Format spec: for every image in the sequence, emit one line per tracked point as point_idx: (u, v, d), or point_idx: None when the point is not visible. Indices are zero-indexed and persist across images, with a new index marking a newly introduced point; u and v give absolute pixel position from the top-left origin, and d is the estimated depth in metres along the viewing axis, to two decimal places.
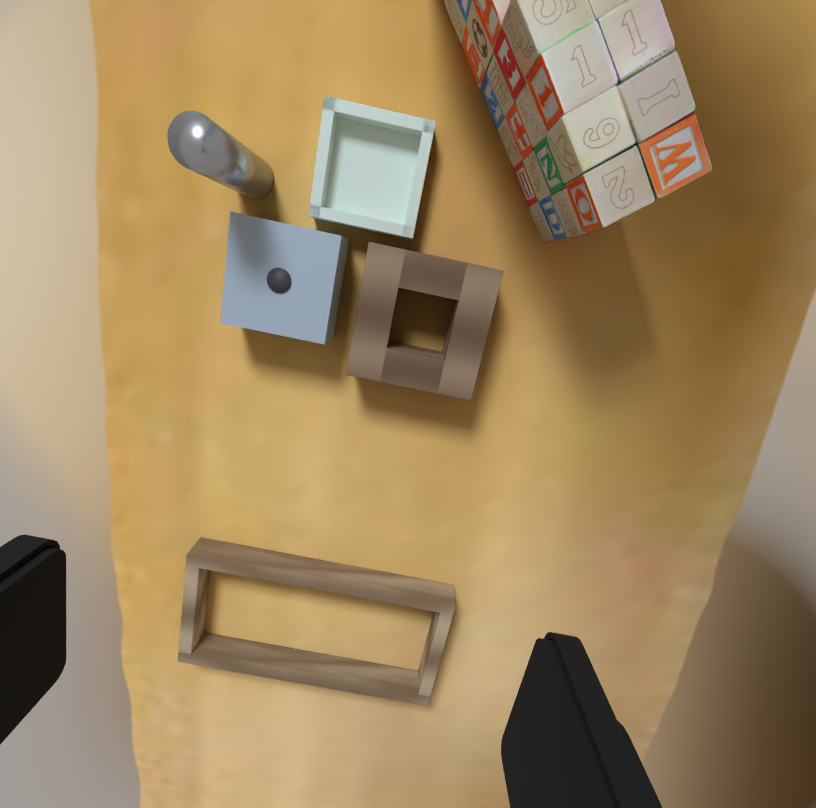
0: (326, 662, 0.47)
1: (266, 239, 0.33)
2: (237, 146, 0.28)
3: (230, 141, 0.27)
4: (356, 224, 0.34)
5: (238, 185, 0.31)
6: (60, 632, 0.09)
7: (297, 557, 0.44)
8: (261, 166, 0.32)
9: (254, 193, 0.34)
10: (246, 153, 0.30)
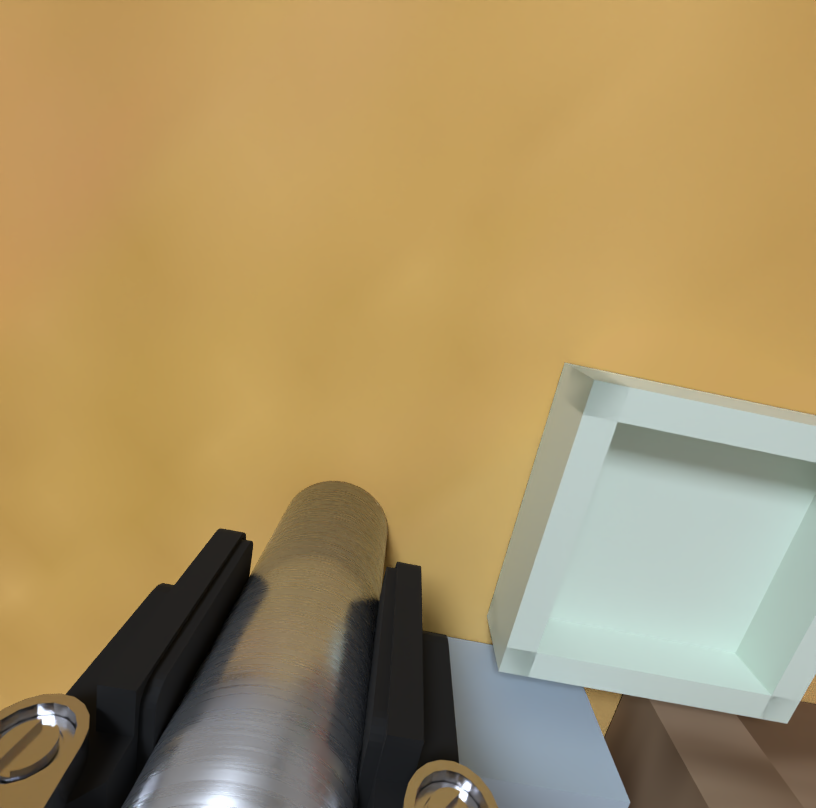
0: None
1: None
2: (350, 793, 0.06)
3: None
4: (633, 692, 0.12)
5: None
6: None
7: None
8: (379, 587, 0.10)
9: None
10: (363, 692, 0.07)
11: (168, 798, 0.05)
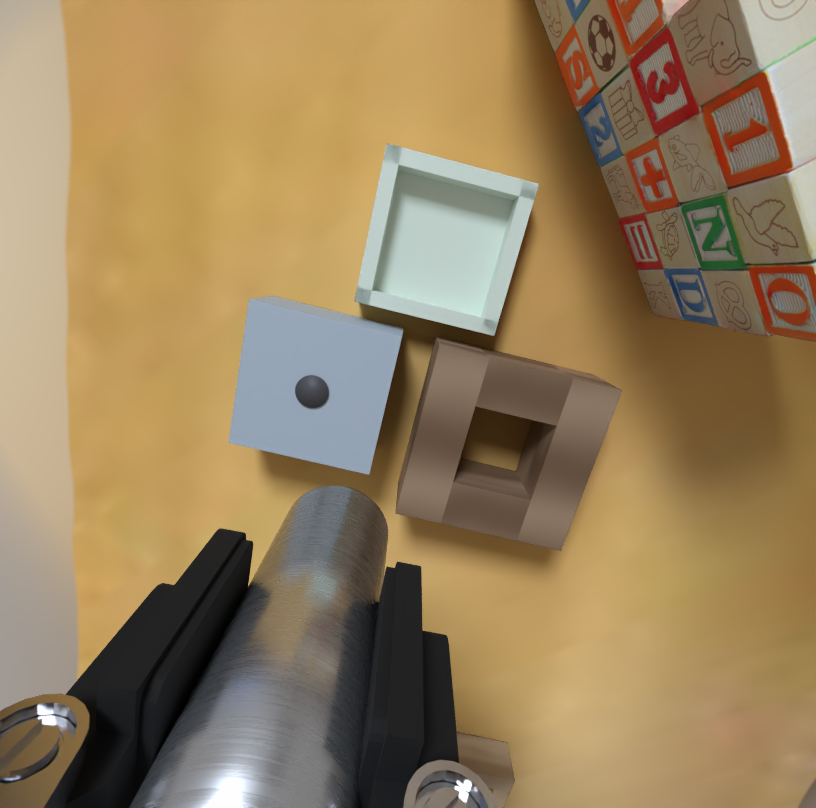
0: None
1: (297, 337, 0.23)
2: (352, 799, 0.06)
3: None
4: (419, 315, 0.25)
5: None
6: None
7: None
8: (380, 592, 0.10)
9: None
10: (364, 698, 0.08)
11: (172, 806, 0.05)
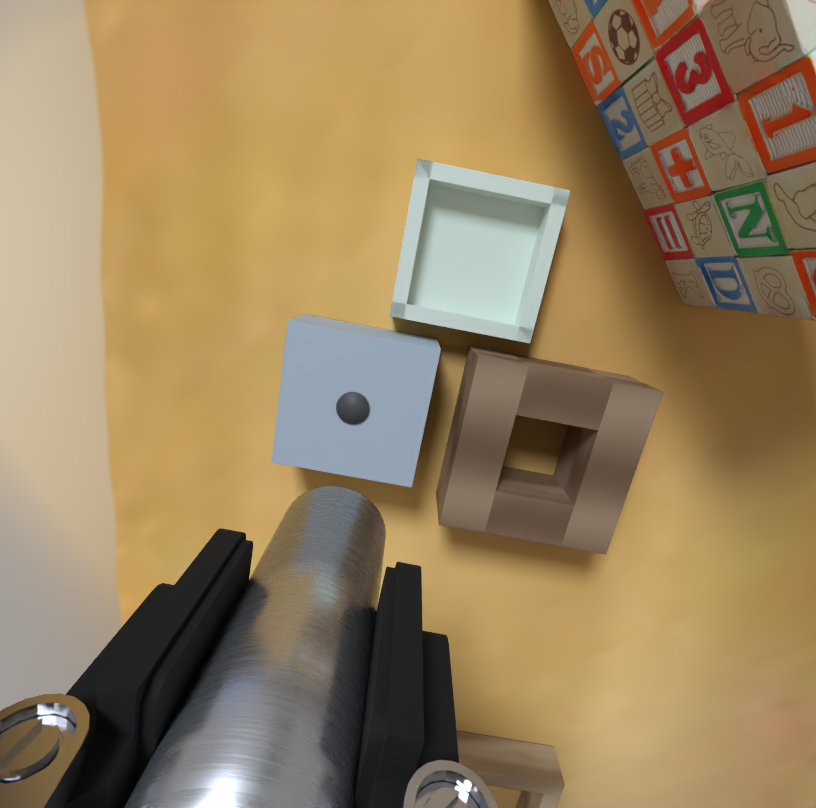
0: None
1: (337, 355, 0.24)
2: (346, 799, 0.06)
3: None
4: (454, 326, 0.25)
5: None
6: None
7: None
8: (376, 592, 0.10)
9: None
10: (360, 698, 0.08)
11: (166, 806, 0.05)
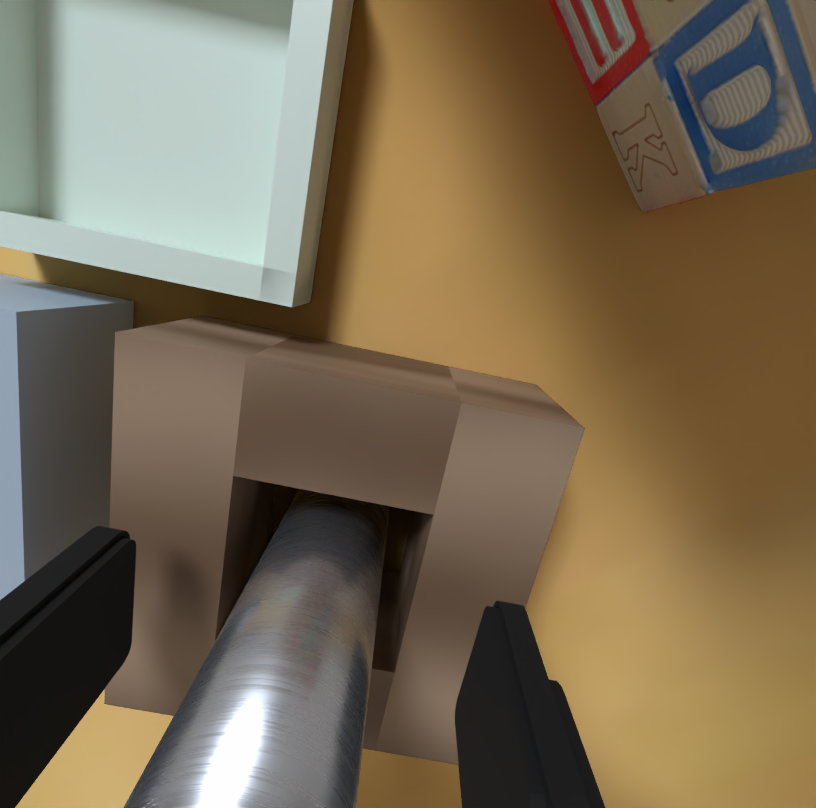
0: None
1: None
2: (362, 687, 0.08)
3: (354, 754, 0.07)
4: (112, 265, 0.11)
5: None
6: (128, 616, 0.09)
7: None
8: (383, 548, 0.12)
9: None
10: (371, 622, 0.09)
11: (227, 676, 0.07)
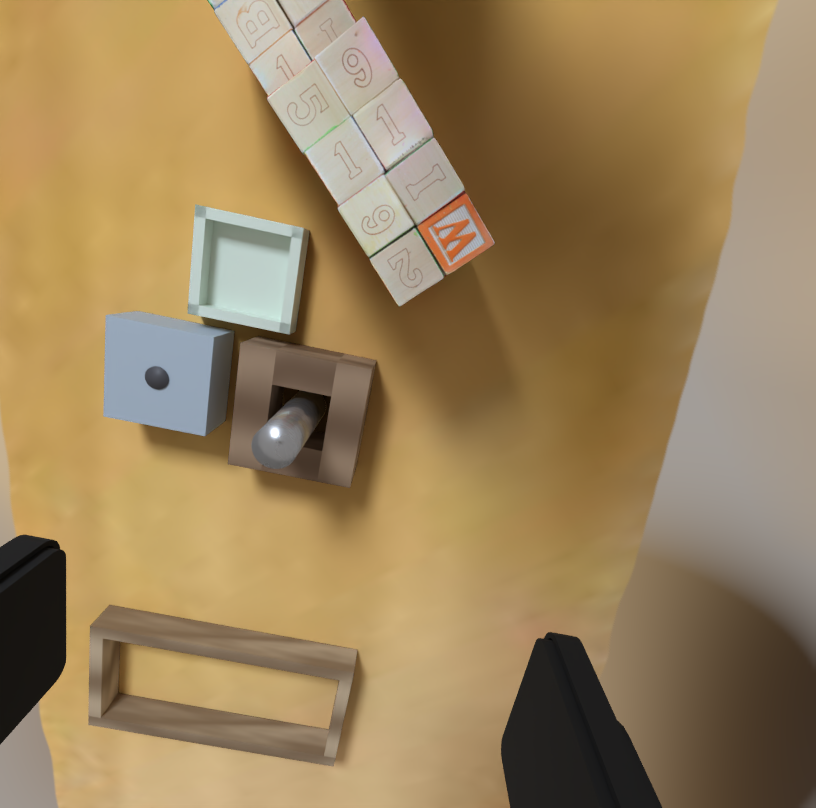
0: (237, 722, 0.48)
1: (142, 340, 0.34)
2: (305, 428, 0.32)
3: (302, 433, 0.31)
4: (234, 321, 0.35)
5: None
6: (59, 631, 0.09)
7: (203, 624, 0.45)
8: (319, 412, 0.36)
9: None
10: (310, 421, 0.34)
11: (275, 417, 0.31)
